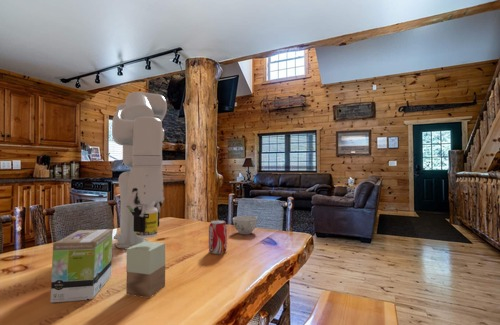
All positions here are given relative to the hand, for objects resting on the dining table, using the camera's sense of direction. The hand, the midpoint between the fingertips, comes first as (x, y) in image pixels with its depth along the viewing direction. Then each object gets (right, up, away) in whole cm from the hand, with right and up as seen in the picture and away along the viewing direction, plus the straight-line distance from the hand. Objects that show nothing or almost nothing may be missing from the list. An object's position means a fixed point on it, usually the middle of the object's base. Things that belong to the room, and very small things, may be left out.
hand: (146, 228), depth 72 cm
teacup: (+26, -18, +61) cm, 69 cm away
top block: (0, -11, 0) cm, 11 cm away
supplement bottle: (0, -2, 0) cm, 2 cm away
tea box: (-17, -17, +1) cm, 24 cm away
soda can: (+16, -17, +32) cm, 39 cm away
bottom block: (0, -17, 0) cm, 17 cm away
